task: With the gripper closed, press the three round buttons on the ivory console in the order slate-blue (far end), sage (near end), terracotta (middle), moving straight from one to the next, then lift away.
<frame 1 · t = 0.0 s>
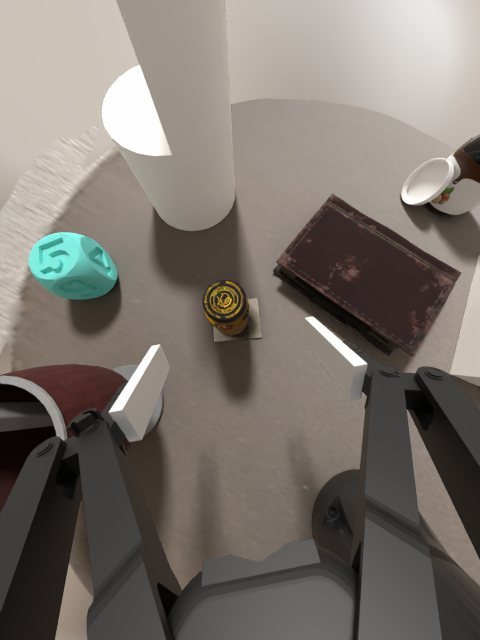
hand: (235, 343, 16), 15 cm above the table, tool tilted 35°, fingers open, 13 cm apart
spread jar: (429, 201, 36), on the table
cylinder: (194, 195, 37), on the table
decorative dice: (98, 278, 34), on the table
mate gourd: (125, 398, 30), on the table
diary: (350, 278, 34), on the table
condiment: (236, 319, 32), on the table
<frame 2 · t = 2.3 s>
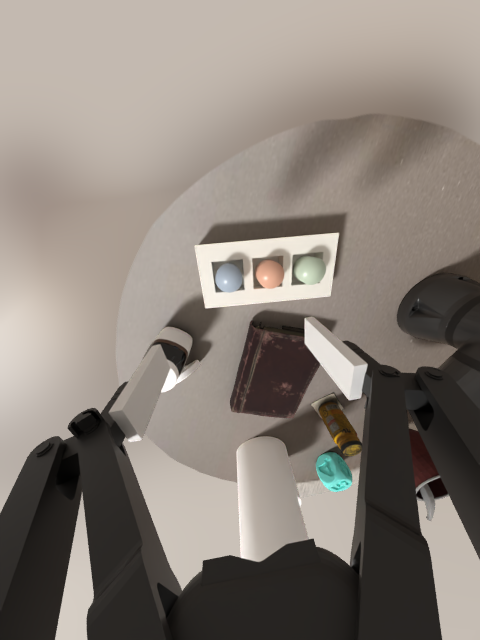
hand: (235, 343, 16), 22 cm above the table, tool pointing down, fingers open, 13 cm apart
spread jar: (180, 348, 42), on the table
terracotta button: (268, 273, 31), point 5 cm above the table, slide at 0.0 cm
cylinder: (261, 451, 61), on the table
slate button: (228, 277, 30), point 5 cm above the table, slide at 0.0 cm
decorative dice: (327, 457, 65), on the table
mate gourd: (382, 423, 59), on the table
console: (263, 269, 35), on the table
diary: (272, 366, 47), on the table
sage button: (308, 270, 31), point 5 cm above the table, slide at 0.0 cm
condiment: (326, 405, 54), on the table
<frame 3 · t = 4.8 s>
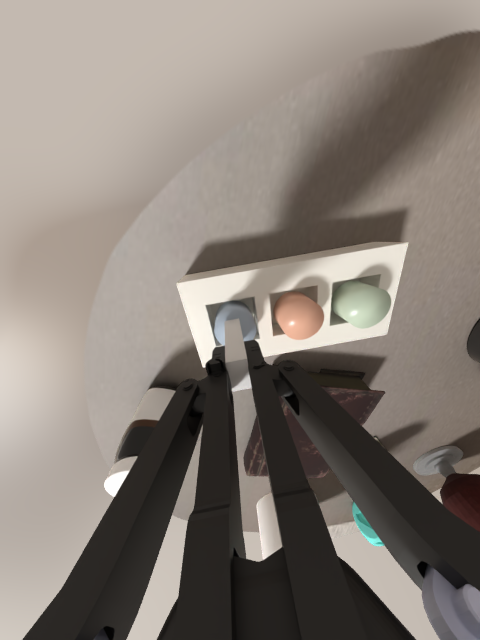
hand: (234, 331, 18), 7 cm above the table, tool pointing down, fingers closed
spread jar: (175, 406, 31), on the table
terracotta button: (296, 314, 20), point 5 cm above the table, slide at 0.0 cm
cylinder: (286, 501, 51), on the table
slate button: (234, 323, 20), point 5 cm above the table, slide at 0.6 cm, touching gripper
decorative dice: (364, 499, 55), on the table
mate gourd: (433, 460, 48), on the table
console: (282, 299, 24), on the table
diary: (297, 414, 36), on the table
sage button: (358, 303, 20), point 5 cm above the table, slide at 0.0 cm
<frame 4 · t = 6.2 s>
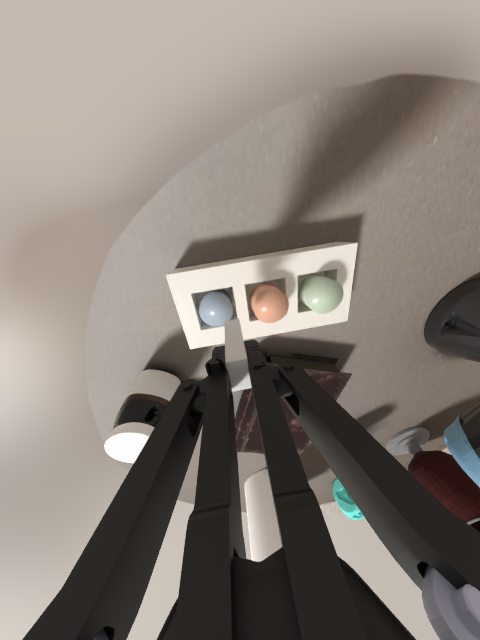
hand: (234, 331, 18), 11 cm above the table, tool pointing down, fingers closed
spread jar: (167, 388, 35), on the table
terracotta button: (268, 302, 23), point 5 cm above the table, slide at 0.0 cm
cylinder: (271, 481, 55), on the table
slate button: (216, 306, 25), point 4 cm above the table, slide at 1.8 cm
decorative dice: (344, 479, 59), on the table
mate gourd: (404, 441, 53), on the table
console: (260, 291, 28), on the table
diary: (278, 397, 40), on the table
sage button: (319, 293, 24), point 5 cm above the table, slide at 0.0 cm
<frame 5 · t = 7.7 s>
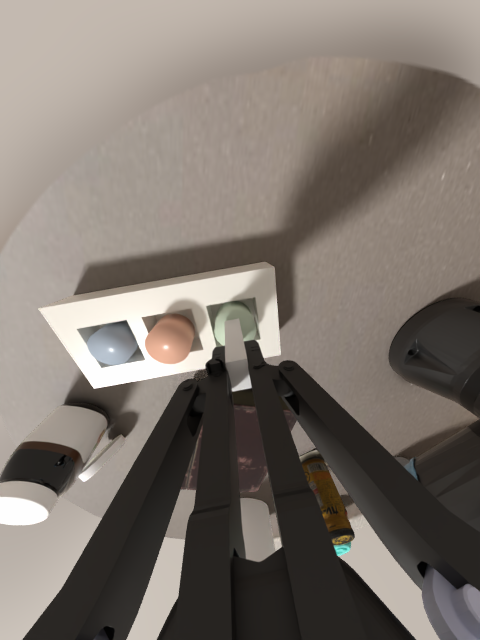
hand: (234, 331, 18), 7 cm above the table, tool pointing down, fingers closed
spread jar: (98, 421, 31), on the table
terracotta button: (172, 338, 19), point 5 cm above the table, slide at 0.0 cm
cylinder: (238, 512, 50), on the table
slate button: (118, 340, 21), point 4 cm above the table, slide at 1.8 cm
decorative dice: (320, 509, 54), on the table
console: (182, 318, 24), on the table
diary: (230, 428, 36), on the table
sage button: (234, 324, 20), point 5 cm above the table, slide at 0.7 cm, touching gripper
condiment: (310, 461, 42), on the table
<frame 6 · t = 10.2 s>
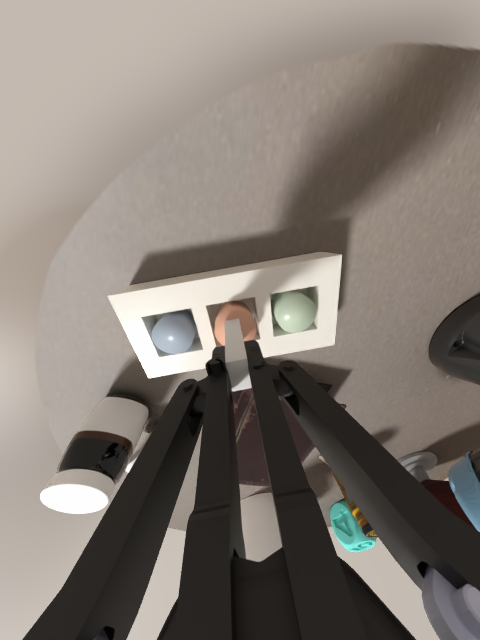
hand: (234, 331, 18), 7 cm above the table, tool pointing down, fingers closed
spread jar: (137, 414, 31), on the table
terracotta button: (234, 323, 20), point 5 cm above the table, slide at 0.7 cm, touching gripper
cylinder: (262, 507, 50), on the table
slate button: (176, 330, 21), point 4 cm above the table, slide at 1.8 cm
decorative dice: (342, 504, 54), on the table
mate gourd: (408, 466, 47), on the table
console: (232, 309, 24), on the table
diary: (264, 422, 36), on the table
sage button: (291, 309, 21), point 4 cm above the table, slide at 1.8 cm
condiment: (338, 455, 42), on the table
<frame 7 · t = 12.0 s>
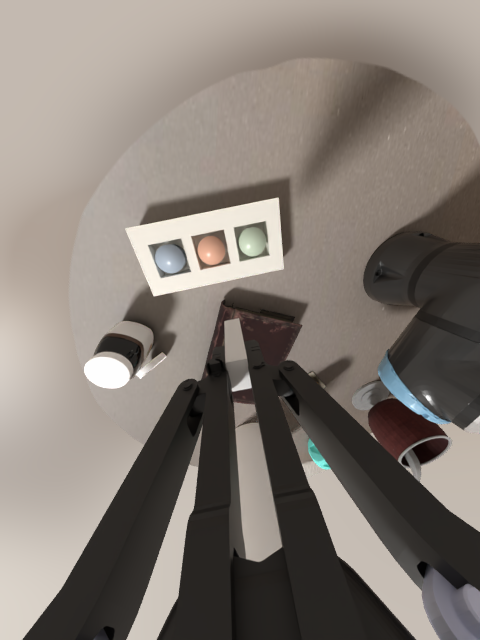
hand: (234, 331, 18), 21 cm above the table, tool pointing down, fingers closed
spread jar: (144, 342, 41), on the table
terracotta button: (211, 250, 30), point 4 cm above the table, slide at 1.8 cm
cylinder: (250, 438, 61), on the table
slate button: (171, 258, 30), point 4 cm above the table, slide at 1.8 cm
decorative dice: (318, 437, 65), on the table
mate gourd: (368, 396, 58), on the table
console: (212, 248, 34), on the table
diary: (245, 352, 46), on the table
sage button: (251, 242, 31), point 4 cm above the table, slide at 1.8 cm
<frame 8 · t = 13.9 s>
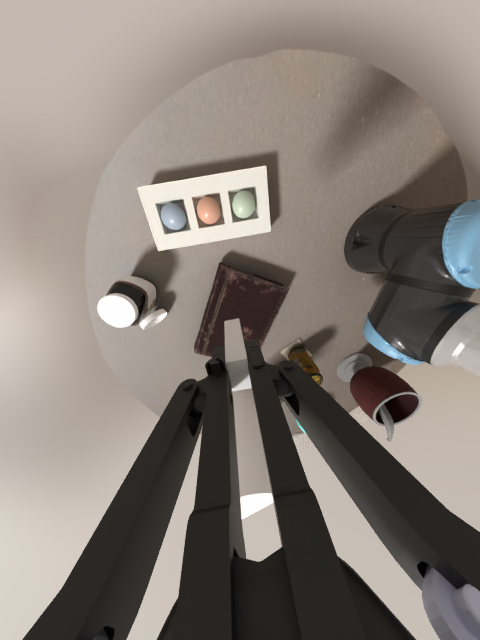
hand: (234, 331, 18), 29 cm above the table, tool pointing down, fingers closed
spread jar: (148, 300, 46), on the table
terracotta button: (209, 211, 36), point 4 cm above the table, slide at 1.8 cm
cylinder: (242, 405, 65), on the table
slate button: (174, 217, 35), point 4 cm above the table, slide at 1.8 cm
mate gourd: (352, 368, 63), on the table
console: (210, 213, 39), on the table
diary: (237, 315, 50), on the table
sage button: (243, 205, 36), point 4 cm above the table, slide at 1.8 cm
condiment: (295, 352, 57), on the table
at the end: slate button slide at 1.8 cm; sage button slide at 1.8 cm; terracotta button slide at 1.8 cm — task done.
